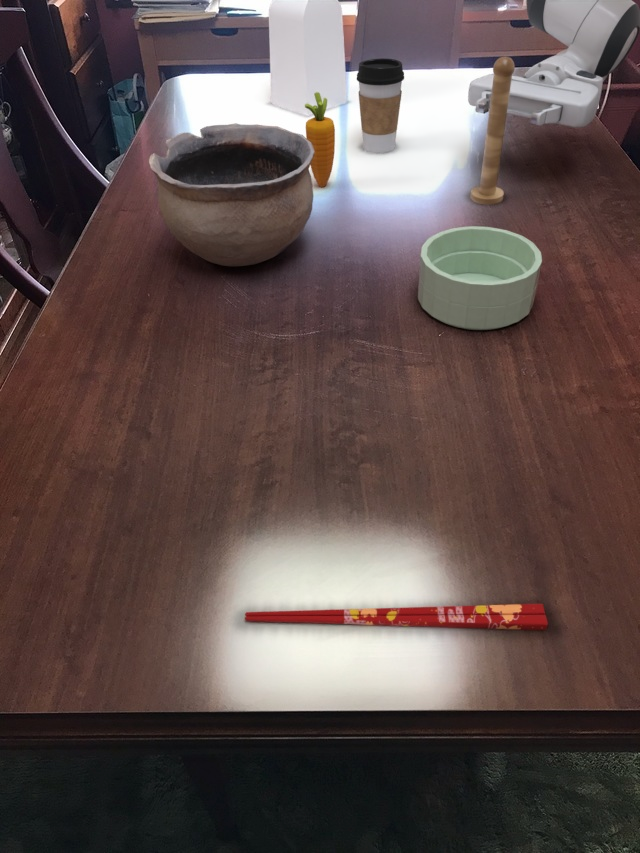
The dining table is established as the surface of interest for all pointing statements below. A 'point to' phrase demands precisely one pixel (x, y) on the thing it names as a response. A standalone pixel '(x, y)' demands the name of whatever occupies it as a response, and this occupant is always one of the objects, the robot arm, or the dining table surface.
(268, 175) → the ceramic bowl
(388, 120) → the coffee cup
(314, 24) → the milk
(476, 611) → the chopstick
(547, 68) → the robot arm
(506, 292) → the celadon bowl
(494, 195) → the muddler
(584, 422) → the dining table surface
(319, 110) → the carrot
